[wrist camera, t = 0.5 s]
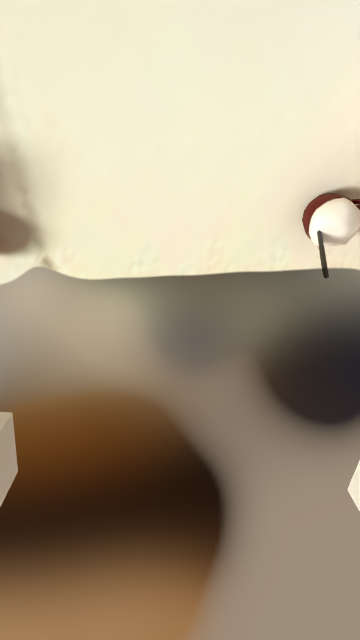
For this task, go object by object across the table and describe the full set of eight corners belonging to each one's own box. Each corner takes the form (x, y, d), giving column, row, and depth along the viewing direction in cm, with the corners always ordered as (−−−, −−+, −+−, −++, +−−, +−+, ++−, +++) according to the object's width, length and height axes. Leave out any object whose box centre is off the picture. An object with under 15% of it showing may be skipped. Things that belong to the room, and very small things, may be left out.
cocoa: (353, 184, 44) (421, 215, 35) (343, 231, 48) (401, 271, 38) (282, 192, 43) (332, 227, 34) (277, 239, 47) (320, 283, 37)
